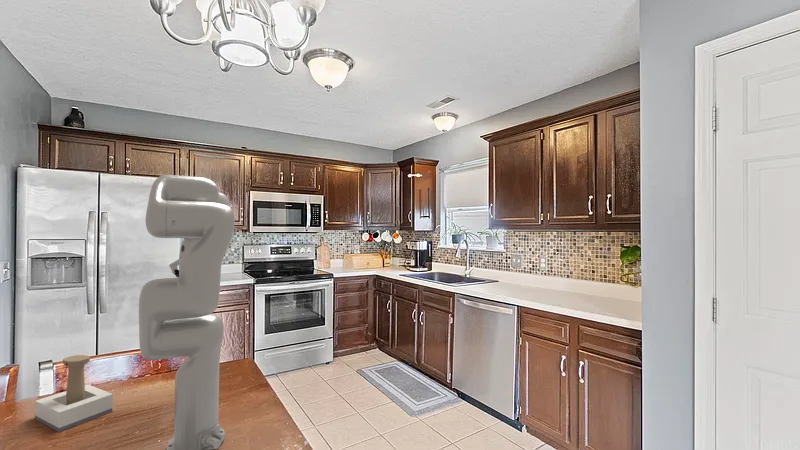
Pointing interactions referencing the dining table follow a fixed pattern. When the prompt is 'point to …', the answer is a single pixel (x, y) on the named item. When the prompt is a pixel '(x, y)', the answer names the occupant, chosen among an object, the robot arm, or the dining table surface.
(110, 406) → the socket stand
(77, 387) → the handle
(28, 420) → the dining table surface
